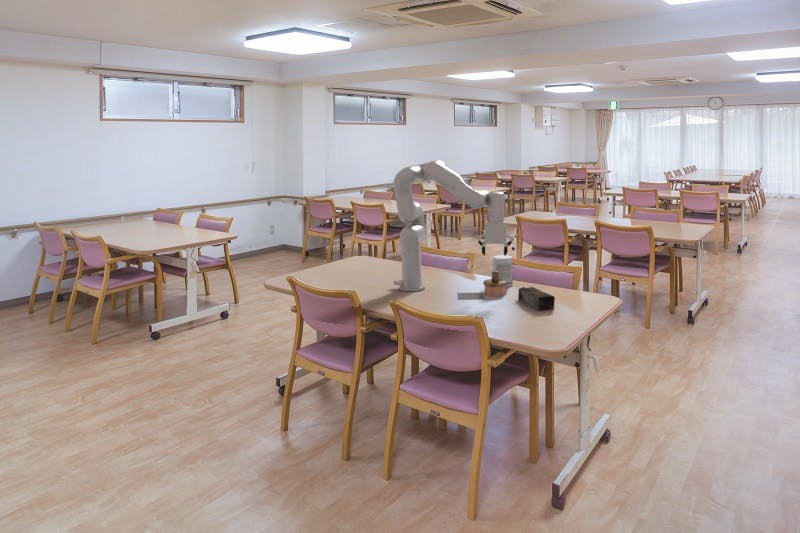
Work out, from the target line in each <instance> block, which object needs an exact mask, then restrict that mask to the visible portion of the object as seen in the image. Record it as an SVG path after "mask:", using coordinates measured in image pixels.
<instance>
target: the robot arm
mask: <svg viewBox="0 0 800 533" xmlns="http://www.w3.org/2000/svg"><path fill="white" fill-rule="evenodd" d="M427 181H433V182H435V183H436V184H438V185H439V186H440V187H443V188H444V189H446V190H447V191H449V192H450V193H451V194H452V195H453V196H455V198H457V200H459V201H461V202H462V203H464V204H466V205H468V206H469V207H470V208H473V209H477V210H478V209H482V208H483V207H486V206H487V215H484V217H483V219H484V220H486V221H485V225H484V229H483V230H484V231H483V232H484V233H482V234H480V235H477V236H476V237H475V239H476V241H477V243H478V245H480V246H481V254H482V255H483V256H484V257H485V256H486V245H487V244H489V245H490V244H491V245H493V244H496V245H497V244H500V245H501V244H503V245H504V246H503V255H505V256H506V255H507V254H508V247H509V246H510V245H512V243H513V242H514V240H515V238H514V237H513V236H511V235H510V234H508V233H507V223H506V221H505V204H506V202H505V200H506V197H505V196H506V194H505V193H504V192H503V191H490V190H489V191H488V190H484V189H483V190H482V189H481V190H475V189H474V188H472V187H471V186H469V185H468V184H466V183H465V182H464V180H463V179H462V176H461V175H459V173H456V172H455V171H453V170H452V169H451V168H448V167H447V165H446V163H445V162H444V161H442V160H438V159H435V160H431V161H429V162H425V163H420V164H416V165H410V166H406V167H403V168H402V169H401V170H400V171H399V170H398V172H397V173H396V174H395V177H394V179H393V189H394V195H395V196H394V197H395V203H396V204H395V205H396V209H397V215H398V219H399V220H400V221H401V222H402V223H404V224H406V226H405V227H403V228H402V230H401V231H400V234H399V244H400V251H401V276H402V277H401V279H399V280H393V285H395V286H399V290H400V289H401V290H400V291H402V290H404V291H403V292H419V291H423V290H425V288H426V287H425V285H424V284H423V283H422V255H421V254H422V253H421V252H422V251H421V250H422V249H421V245H420V242H421V241H423V240H424V239H425V237H426V233H427V228H426V221H425V216H424V215H425V214H424V211H423V208H422V206H421V205H420V204H419V203H418V202H416V201H414V200H415V199H414V193H413V190H412V188H411V187H412V185H415V184H418V183H423V182H427ZM482 238H483V242H482V241H481V239H482ZM507 238H508V239H509V241H508V242H507Z"/></svg>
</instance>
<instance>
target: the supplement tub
mask: <svg viewBox="0 0 800 533" xmlns="http://www.w3.org/2000/svg"><path fill="white" fill-rule="evenodd" d="M513 264H514V262H513V256H512V255H509V254H508V255H507V254H506V256H505V255H504V254H502V255H501V254H500V255H499V254H498V255H495V256H493V259H492V271H499V279H501V280H505V281H507V287H512V286H513V277H514V276H513V274H514V272H513V270H514V269H513Z"/></svg>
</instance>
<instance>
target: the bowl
mask: <svg viewBox="0 0 800 533" xmlns="http://www.w3.org/2000/svg"><path fill="white" fill-rule="evenodd" d="M507 289H508V288H507V285H506V286H502V287H490V286H486V285H484V294H485V295H487V296H492V297H493V296H494V297H500V296H504V295H507V292H508V290H507Z"/></svg>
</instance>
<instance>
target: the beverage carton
mask: <svg viewBox="0 0 800 533" xmlns="http://www.w3.org/2000/svg"><path fill="white" fill-rule="evenodd" d="M517 294H518V296H517V297H518V298H517V300H518V301H519V302H521V303H522V302H523V303H522V304H524V303H525V304H524V305H526V304H527V305H526V306H528V305H529V306H528V307H530V308H532V309H534V310H536V311H538V312H542V311H543V310H545V311H551V310H552V311H553V309H554V310H555V299H556V298H555V296H554V295H552V294H550V293H547V292H545V291H542V290H541V289H538V288H536V287H533V286H532V287H531V286H530V287H525V286H523V287H520V288H518V293H517ZM543 312H544V311H543Z"/></svg>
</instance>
